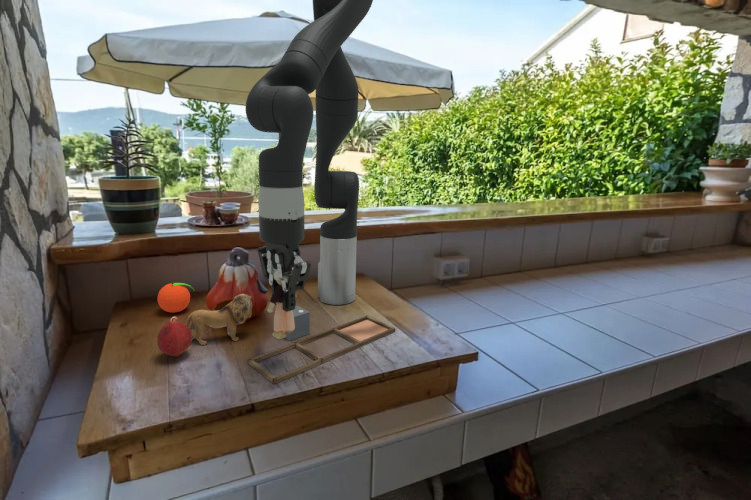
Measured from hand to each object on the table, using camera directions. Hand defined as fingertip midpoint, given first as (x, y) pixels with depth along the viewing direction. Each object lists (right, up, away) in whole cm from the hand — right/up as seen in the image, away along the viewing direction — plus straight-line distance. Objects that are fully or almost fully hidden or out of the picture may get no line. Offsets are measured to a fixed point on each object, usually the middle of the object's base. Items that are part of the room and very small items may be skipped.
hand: (283, 306), depth 74 cm
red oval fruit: (-21, -10, +3) cm, 23 cm away
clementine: (-30, -4, +23) cm, 38 cm away
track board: (+7, -9, +10) cm, 15 cm away
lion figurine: (-16, -8, +11) cm, 21 cm away
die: (-1, -8, +15) cm, 16 cm away
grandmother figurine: (0, -5, +1) cm, 5 cm away
